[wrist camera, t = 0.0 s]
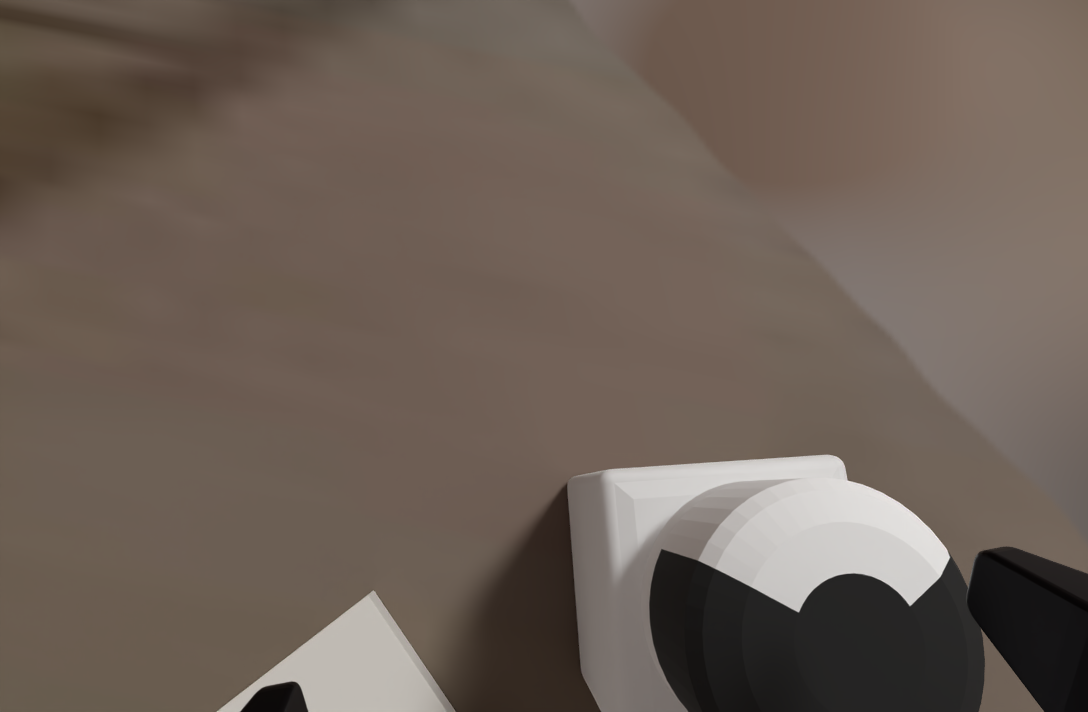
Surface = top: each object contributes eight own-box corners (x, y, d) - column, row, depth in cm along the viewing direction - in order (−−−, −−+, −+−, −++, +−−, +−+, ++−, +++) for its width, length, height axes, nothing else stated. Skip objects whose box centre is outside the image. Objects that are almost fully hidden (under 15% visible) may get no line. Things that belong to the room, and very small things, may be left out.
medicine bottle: (768, 659, 22) (1091, 849, 10) (580, 678, 21) (693, 908, 9) (741, 465, 23) (992, 437, 12) (565, 477, 23) (646, 459, 11)
